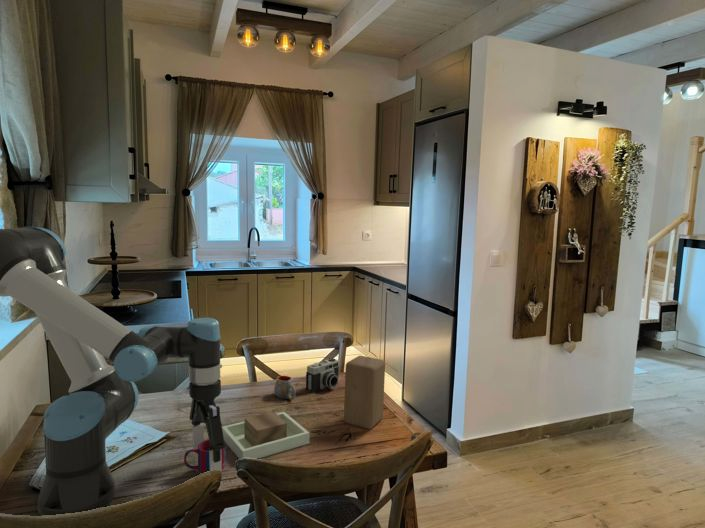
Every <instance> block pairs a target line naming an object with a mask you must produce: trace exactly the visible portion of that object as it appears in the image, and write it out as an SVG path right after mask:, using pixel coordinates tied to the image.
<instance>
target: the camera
mask: <svg viewBox="0 0 705 528" xmlns="http://www.w3.org/2000/svg"><path fill="white" fill-rule="evenodd" d="M339 362H340V361H339V359H335V358H329V359H325V360H323V361H319V362H314V363H312V364H310V365H307V366H306V373H305V374H306V377H305V390H306V391H308V392H310V393H313V394H314V393H316V392H319V390H320V391H322V390H325V389H331V388H332V389H333V388H335V387H337V386H338V384H339V368H340V367H339V366H340V363H339ZM327 387H328V388H327Z"/></svg>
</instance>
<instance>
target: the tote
mask: <svg viewBox="0 0 705 528" xmlns="http://www.w3.org/2000/svg"><path fill="white" fill-rule="evenodd" d="M276 414H277V415H278V416H279V417H280V418H282V419H283V420H284V421H285V422H286V423H287V437H286V438H282V439H279V440H275V441H271V442H268V443H264V444H261V445H257V446H253V447H252V445H251V444H250V443H249V442H248V441H247V440H246V439H245V438H244V425H245V420H244V421H240V422H236V423H232V424H228V425H224V426H222V431H223V437H224V442H225V444H226V445H227V446H228V447H229V448H230V450H231V451H232V452H233V453H234V454H235V456H236V457H237V458H238V459H239V460H240V458H244V457H251V458H259V459H262V458H265V457H266V458H267V457H268V456H272V455H275V454H279V453H282V452H286V451H289V450H291V449H296V448H299V447H302V446H305V445H309V444H310V437H311V436H310V434H311V433H310V431H308V430H307V429H306V428H305V427H303V426H302V425H301V424H300V423H298V422H297V421H296V420H294V419H293V418H292V417H291V416H290V415H289V414H288V413H286V412H285V411H281V412H277V413H276Z"/></svg>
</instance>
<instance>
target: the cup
mask: <svg viewBox="0 0 705 528" xmlns="http://www.w3.org/2000/svg"><path fill="white" fill-rule="evenodd" d="M224 443H225V444H226V442H225V441H224ZM210 447H211V446H210V442H209V438H208V439H204V441H202V442H201V443H200V444H199V445H198V449H193V448H192V449H190V448H189V449H188V450H186V452H185V453H184V457H183V460H184V465H185V466H186V467H187V468H188V469H190V470H197V473H198V475H200V473H204V472H207V471H210V459H209V451H208V449H209V448H210ZM190 453H195V454H197V465H191V464H189V463H188V462H187V456H188V455H189V454H190ZM221 458H222V471H224V469H225V468H226V447H225V448H223V449H221Z"/></svg>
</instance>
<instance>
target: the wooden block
mask: <svg viewBox="0 0 705 528" xmlns="http://www.w3.org/2000/svg"><path fill="white" fill-rule="evenodd" d="M385 374H386V361H385V360H384V359H380V358H375V357H370V356H365V355H364V356H363V355H358V356H356V357H354V358H353V359H351V360H348V361H347V362H346V364H345V378H344V381H345V382H344V402H343V403H344V407H343V422H344V423H347V424H349V425H353V426H357V427H360V428H364V429H368V430H371V429H372V428H374V427H375V426H376V425H377V424H378V423H379V422H380V421H381V420H382V419H383V417H384V400H385V399H384V396H385V395H384V394H385V380H386V379H385V376H386V375H385Z"/></svg>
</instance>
